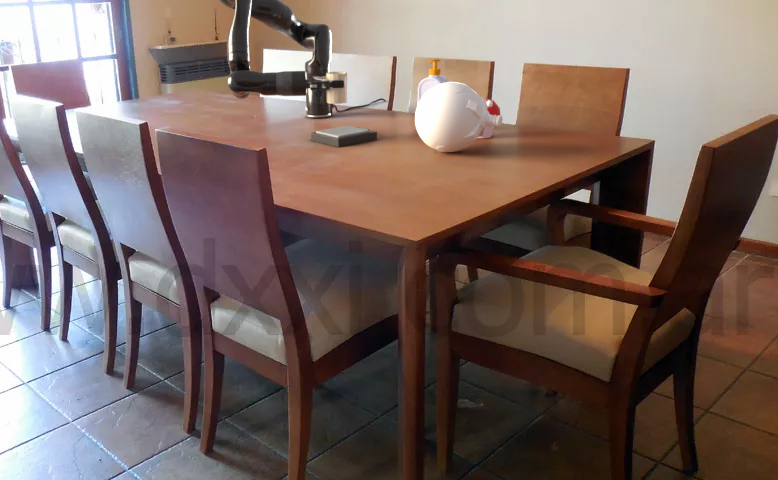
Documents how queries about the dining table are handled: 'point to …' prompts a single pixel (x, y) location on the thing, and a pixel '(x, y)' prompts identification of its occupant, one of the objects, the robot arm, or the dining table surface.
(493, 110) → the mushroom
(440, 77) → the soap bottle
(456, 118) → the white rounded shape
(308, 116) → the robot arm
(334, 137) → the scale
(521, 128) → the dining table surface
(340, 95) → the tumbler
